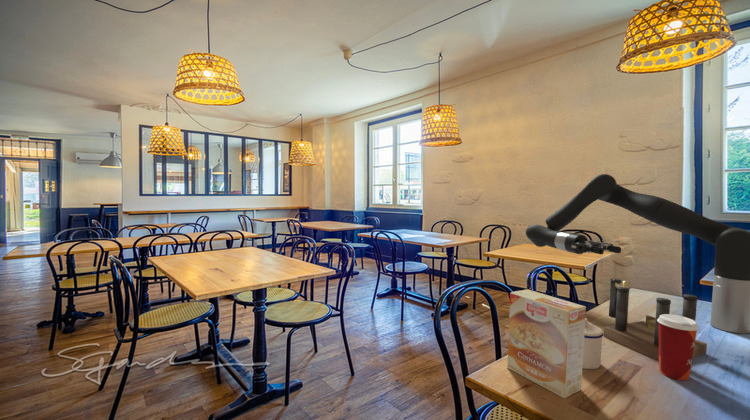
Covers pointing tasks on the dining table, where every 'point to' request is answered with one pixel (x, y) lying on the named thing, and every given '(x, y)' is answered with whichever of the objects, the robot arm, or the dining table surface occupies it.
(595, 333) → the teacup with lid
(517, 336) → the coffeecake box
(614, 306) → the grey post frame
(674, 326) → the paper cup
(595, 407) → the dining table surface
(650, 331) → the base with upright pegs
